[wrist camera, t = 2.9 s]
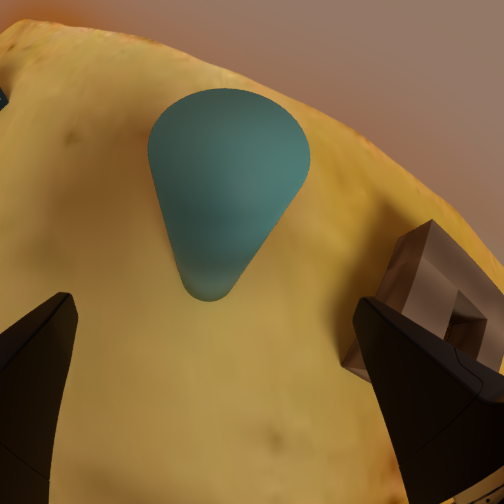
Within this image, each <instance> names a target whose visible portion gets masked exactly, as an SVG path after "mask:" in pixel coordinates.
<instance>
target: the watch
mask: <svg viewBox="0 0 504 504" xmlns="http://www.w3.org/2000/svg"><path fill="white" fill-rule="evenodd" d="M8 103H9V102H8V100H7V98H6V97H5V95H4V93H3V91H2V89H1V88H0V111H1V110H2V109H3V108H4V107H5V106H6V105H7V104H8Z"/></svg>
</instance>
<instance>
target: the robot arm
mask: <svg viewBox="0 0 504 504" xmlns="http://www.w3.org/2000/svg"><path fill="white" fill-rule="evenodd" d="M77 324H78V313H77V310H76V306H75V303H74V300H73V297H72V295H71V294H70V293H67V292H58V293H57V294H55V295H54V296H52V297H51V298H49V299H48V300H47V301H45V302H44V303H42V304H41V305H39V306H38V307H37V308H35V309H34V310H32V311H31V312H29V313H28V314H27V315H25V316H24V317H23V318H21V319H20V320H18V321H17V322H16V323H14V324H13V325H12V326H10V327H9V328H8V329H6V330H5V331H4V332H2V333H1V334H0V504H49V484H50V481H49V480H50V470H51V461H52V453H53V445H54V438H55V432H56V426H57V420H58V415H59V410H60V405H61V400H62V396H63V391H64V387H65V383H66V379H67V375H68V371H69V367H70V362H71V357H72V351H73V345H74V339H75V334H76V329H77ZM353 326H354V329H355V333H356V336H357V340H358V344H359V347H360V351H361V355H362V358H363V362H364V364H365V367H366V370H367V373H368V375H369V378H370V381H371V383H372V386H373V389H374V392H375V395H376V397H377V400H378V403H379V406H380V409H381V412H382V415H383V418H384V421H385V424H386V427H387V430H388V433H389V436H390V439H391V442H392V445H393V448H394V452H395V455H396V458H397V462H398V465H399V469H400V472H401V476H402V479H403V483H404V486H405V490H406V494H407V498H408V501H409V504H440V503H442V502H444V501H446V500H448V499H450V498H452V497H453V499H454V502H453V503H451V504H504V376H503V375H502V374H500V373H498V372H496V371H494V370H492V369H491V368H489V367H487V366H485V365H483V364H482V363H480V362H478V361H476V360H475V359H473V358H471V357H470V356H468V355H466V354H465V353H463V352H462V351H460V350H459V349H457V348H455V347H453V346H452V345H451V344H449V343H447V342H446V341H444V340H443V339H441V338H439V337H438V336H436V335H435V334H433V333H432V332H430V331H428V330H427V329H425V328H424V327H422V326H420V325H419V324H417V323H415V322H414V321H412V320H411V319H409V318H407V317H406V316H404V315H402V314H401V313H399V312H398V311H396V310H394V309H393V308H391V307H389V306H388V305H386V304H384V303H383V302H381V301H380V300H378V299H376V298H375V297H372V296H367V297H361V298H360V300H359V302H358V304H357V307H356V310H355V312H354V315H353Z"/></svg>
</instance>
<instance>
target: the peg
mask: <svg viewBox="0 0 504 504" xmlns="http://www.w3.org/2000/svg"><path fill="white" fill-rule="evenodd" d="M148 158H149V164H150V168H151V172H152V176H153V180H154V184H155V188H156V192H157V196H158V200H159V204H160V208H161V211H162V215H163V219H164V222H165V226H166V229H167V233H168V236H169V240H170V243H171V247H172V250H173V253H174V257H175V260H176V263H177V266H178V269H179V273H180V276H181V279H182V282H183V285H184V287H185V289H186V290H187V291H188V293H189V294H190V295H192V296H193V297H194V298H196V299H198V300H201V301H207V302H211V301H216V300H219V299H221V298H223V297H224V296H226V295H227V294H228V293H229V292H230V290H231V289H232V288H233V286H234V285H235V283H236V282H237V280H238V279H239V277H240V276H241V274H242V273H243V271H244V270H245V269H246V267H247V266H248V264H249V263H250V261H251V260H252V258H253V257H254V255H255V254H256V252H257V251H258V249H259V248H260V247H261V245H262V244H263V242H264V241H265V239H266V238H267V236H268V235H269V233H270V232H271V230H272V229H273V227H274V226H275V224H276V223H277V222H278V220H279V219H280V217H281V216H282V214H283V213H284V211H285V210H286V208H287V207H288V205H289V204H290V202H291V201H292V199H293V198H294V197H295V195H296V194H297V192H298V191H299V189H300V188H301V186H302V185H303V183H304V181H305V179H306V177H307V174H308V171H309V166H310V150H309V145H308V141H307V139H306V136H305V134H304V132H303V130H302V128H301V127H300V125H299V124H298V122H297V121H296V120H295V119H294V118H293V117H292V115H291V114H289V113H288V112H287V111H286V110H285V109H284V108H282V107H281V106H280V105H278V104H277V103H275V102H273V101H272V100H270V99H268V98H266V97H263V96H261V95H258V94H256V93H253V92H249V91H244V90H238V89H227V88H223V89H210V90H205V91H200V92H197V93H194V94H191V95H188V96H186V97H184V98H182V99H180V100H179V101H177V102H175V103H174V104H172V105H171V106H170V107H169V108H167V109H166V110H165V111H164V112H163V113H162V114H161V116H160V117H159V118H158V120H157V121H156V123H155V125H154V127H153V128H152V131H151V134H150V137H149V142H148Z"/></svg>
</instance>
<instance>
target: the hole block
mask: <svg viewBox="0 0 504 504" xmlns="http://www.w3.org/2000/svg"><path fill="white" fill-rule="evenodd" d="M375 298H376V299H378V300H380V301H381V302H383V303H384V304H386V305H388V306H389V307H391V308H393V309H394V310H396V311H398V312H399V313H401V314H402V315H404V316H406V317H407V318H409V319H411V320H412V321H414V322H415V323H417V324H419V325H420V326H422V327H424V328H425V329H427V330H428V331H430V332H432V333H433V334H435V335H436V336H438V337H439V338H441V339H444V336H445V333H446V330H447V327H448V324H449V322H450V323H451V324H452V328H451V331H450V334H449V337H448V340H447V343H449V344H451V345H452V346H453V347H455V348H457V349H459V350H460V351H462V352H463V353H465V354H466V355H468V356H470V357H471V358H473V359H475V360H476V361H478V362H480V363H482V364H483V365H485V366H487V367H489V368H491V369H492V370H494V371H496V372H498V373H499V370H500V366H501V363H502V359H503V355H504V295H503V294H502V292H501V291H500V290H499V289H498V288H497V286H496V285H495V284H494V283H493V282H492V280H491V279H490V278H489V277H488V276H487V275H486V274H485V272H484V271H483V270H482V269H481V268H480V267H479V266H478V265H477V264H476V262H475V261H474V260H473V259H472V258H471V257H470V256H469V255H468V254H467V253H466V252H465V251H464V250H463V249H462V248H461V247H460V246H459V245H458V244H457V243H456V242H455V241H454V240H453V239H452V238H451V237H450V236H449V235H448V234H447V233H446V232H445V231H444V230H443V229H442V228H441V227H440V226H439V225H438V224H437V223H436V222H435V221H434V220H433V219H431V220H430V221H428V222H426V223H424V224H423V225H421V226H419V227H418V228H416V229H414V230H412V231H410V232H409V233H407V234H405V235H403V236H402V237H400V238H399V240H398V242H397V245H396V248H395V250H394V253H393V256H392V258H391V261H390V263H389V266H388V268H387V271H386V273H385V276H384V278H383V281H382V283H381V285H380V288H379V290H378V292H377V295H376V297H375ZM342 367H343V368H345V369H347V370H348V371H350V372H352V373H354V374H355V375H357V376H359V377H360V378H362V379H364V380H366V381H367V382H369V383H371V381H370V378H369V375H368V373H367V370H366V367H365V364H364V362H363V358H362V355H361V351H360V347H359V344H358V340H357V337H356V339H355V341H354V343H353V345H352V347H351V349H350V351H349V353H348V354H347V356H346V358H345V360H344V362H343V364H342ZM371 384H372V383H371Z"/></svg>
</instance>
